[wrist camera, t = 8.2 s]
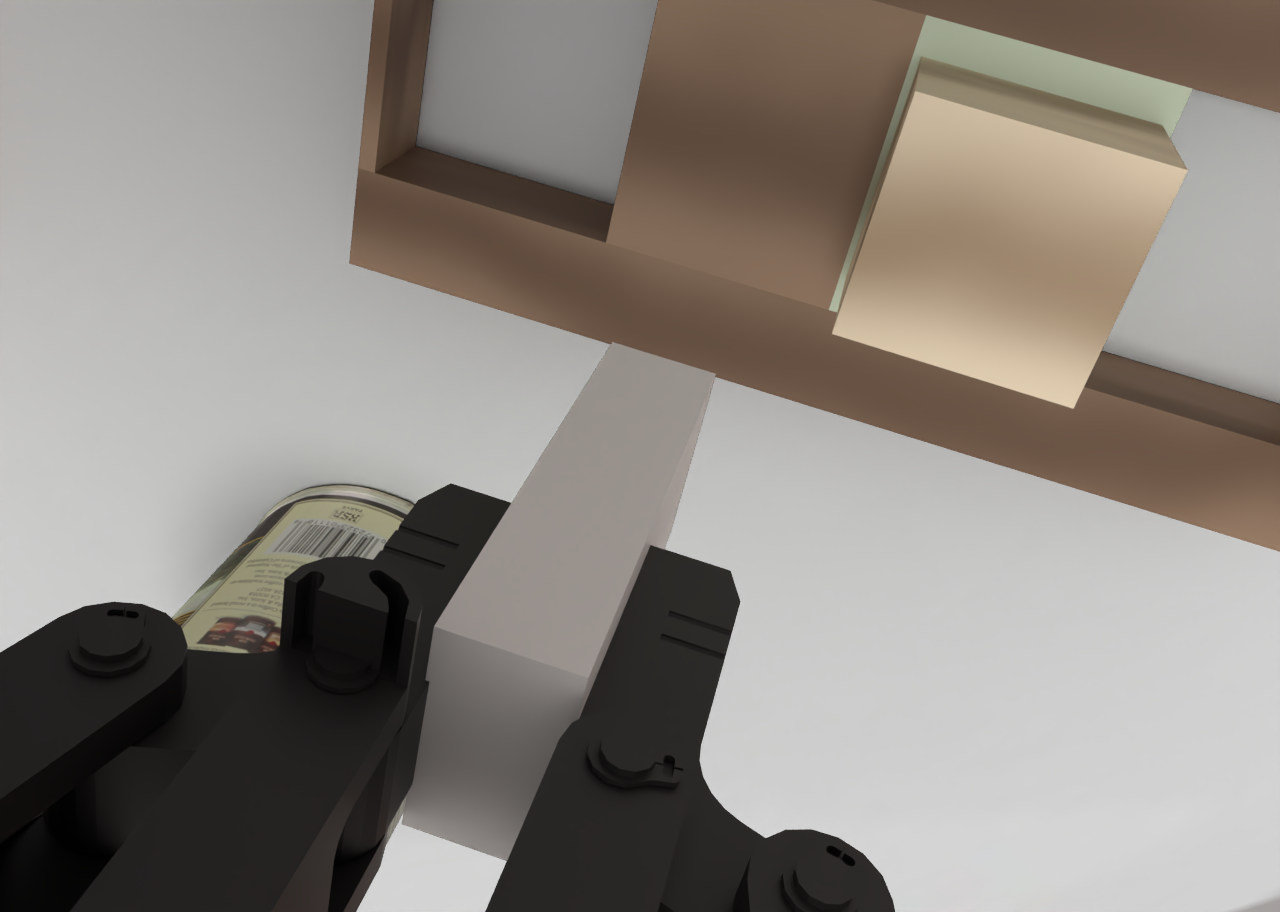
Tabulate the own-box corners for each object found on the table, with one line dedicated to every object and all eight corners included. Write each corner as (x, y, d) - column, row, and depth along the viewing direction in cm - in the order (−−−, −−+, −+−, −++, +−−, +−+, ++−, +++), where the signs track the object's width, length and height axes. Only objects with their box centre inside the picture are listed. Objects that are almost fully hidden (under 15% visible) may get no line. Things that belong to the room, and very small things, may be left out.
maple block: (921, 55, 30) (915, 91, 26) (1162, 125, 29) (1187, 170, 26) (846, 276, 33) (832, 333, 29) (1062, 342, 32) (1073, 408, 29)
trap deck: (446, -265, 31) (400, -270, 29) (1540, 24, 29) (1595, 46, 26) (390, 231, 39) (349, 263, 36) (1259, 497, 36) (1281, 552, 34)
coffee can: (322, 717, 50) (119, 1010, 38) (205, 509, 46) (-62, 763, 34) (540, 687, 46) (392, 1000, 35) (434, 458, 42) (225, 722, 31)
